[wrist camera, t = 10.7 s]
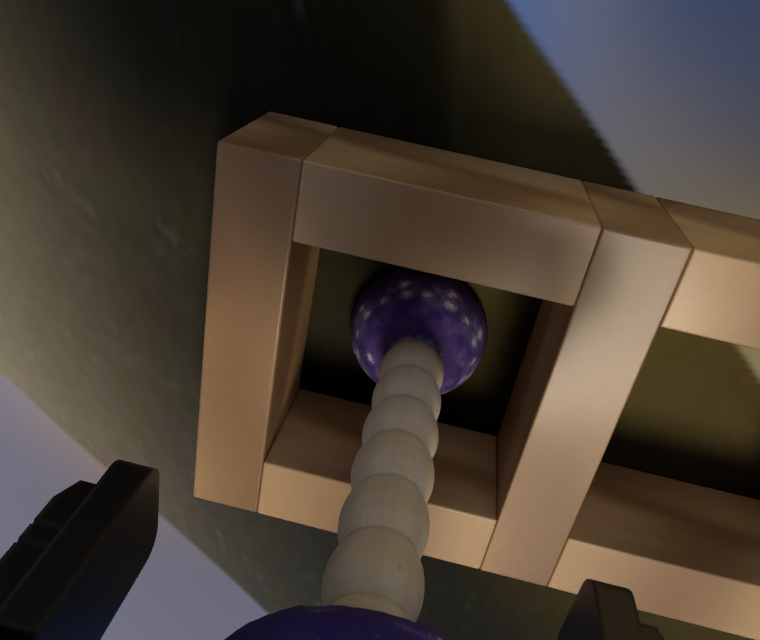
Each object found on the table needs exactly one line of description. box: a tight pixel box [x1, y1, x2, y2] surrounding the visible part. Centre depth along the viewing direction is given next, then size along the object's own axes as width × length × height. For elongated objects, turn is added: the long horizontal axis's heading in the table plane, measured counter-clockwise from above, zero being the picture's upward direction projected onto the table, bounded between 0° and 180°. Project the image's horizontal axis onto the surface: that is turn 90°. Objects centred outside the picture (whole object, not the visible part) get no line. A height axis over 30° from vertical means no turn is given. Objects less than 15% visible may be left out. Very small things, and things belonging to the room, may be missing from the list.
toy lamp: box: [225, 268, 488, 640], centre depth 13 cm, size 5×5×17 cm
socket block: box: [194, 112, 760, 640], centre depth 19 cm, size 20×11×4 cm, turn 79°
